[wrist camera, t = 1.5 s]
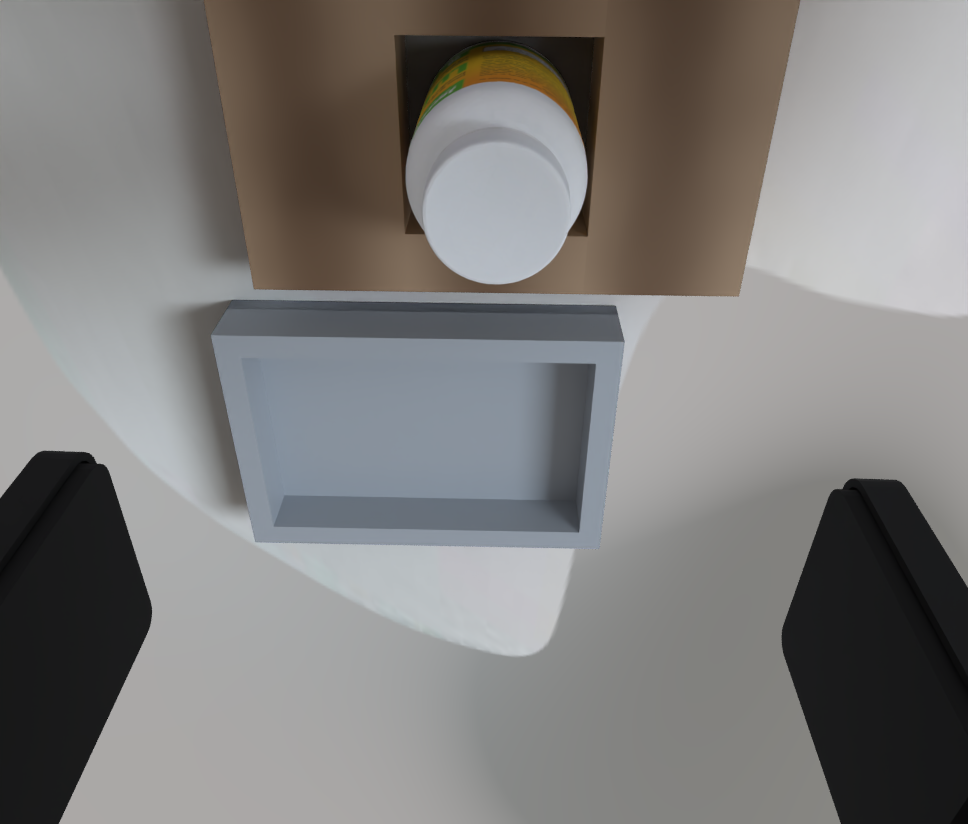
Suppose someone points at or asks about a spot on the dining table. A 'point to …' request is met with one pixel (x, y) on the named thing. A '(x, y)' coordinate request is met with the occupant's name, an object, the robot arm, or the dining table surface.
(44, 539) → the robot arm
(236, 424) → the parts tray
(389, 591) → the dining table surface
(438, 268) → the socket holder
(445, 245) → the supplement bottle
